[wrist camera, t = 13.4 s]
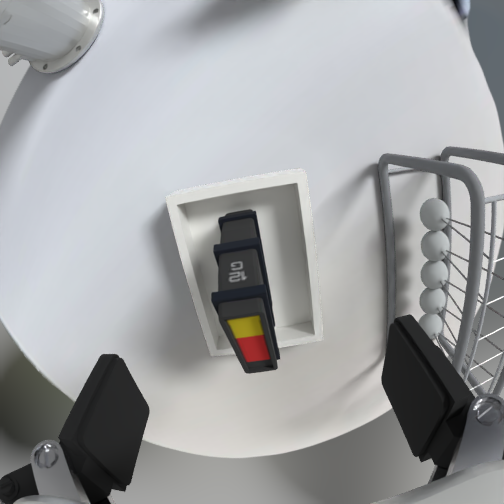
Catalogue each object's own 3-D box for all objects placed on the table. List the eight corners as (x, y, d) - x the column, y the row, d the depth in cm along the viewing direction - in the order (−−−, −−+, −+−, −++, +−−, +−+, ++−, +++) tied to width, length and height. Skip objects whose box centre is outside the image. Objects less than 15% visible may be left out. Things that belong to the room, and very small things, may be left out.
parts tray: (214, 337, 39) (210, 356, 35) (174, 191, 32) (165, 197, 28) (317, 322, 38) (323, 340, 34) (299, 168, 31) (305, 171, 27)
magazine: (250, 179, 29) (268, 307, 19) (266, 266, 38) (282, 375, 28) (213, 186, 29) (210, 315, 19) (238, 270, 39) (246, 380, 28)
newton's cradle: (439, 336, 40) (493, 408, 23) (384, 355, 41) (429, 442, 24) (443, 145, 30) (549, 161, 13) (374, 153, 31) (475, 169, 14)
